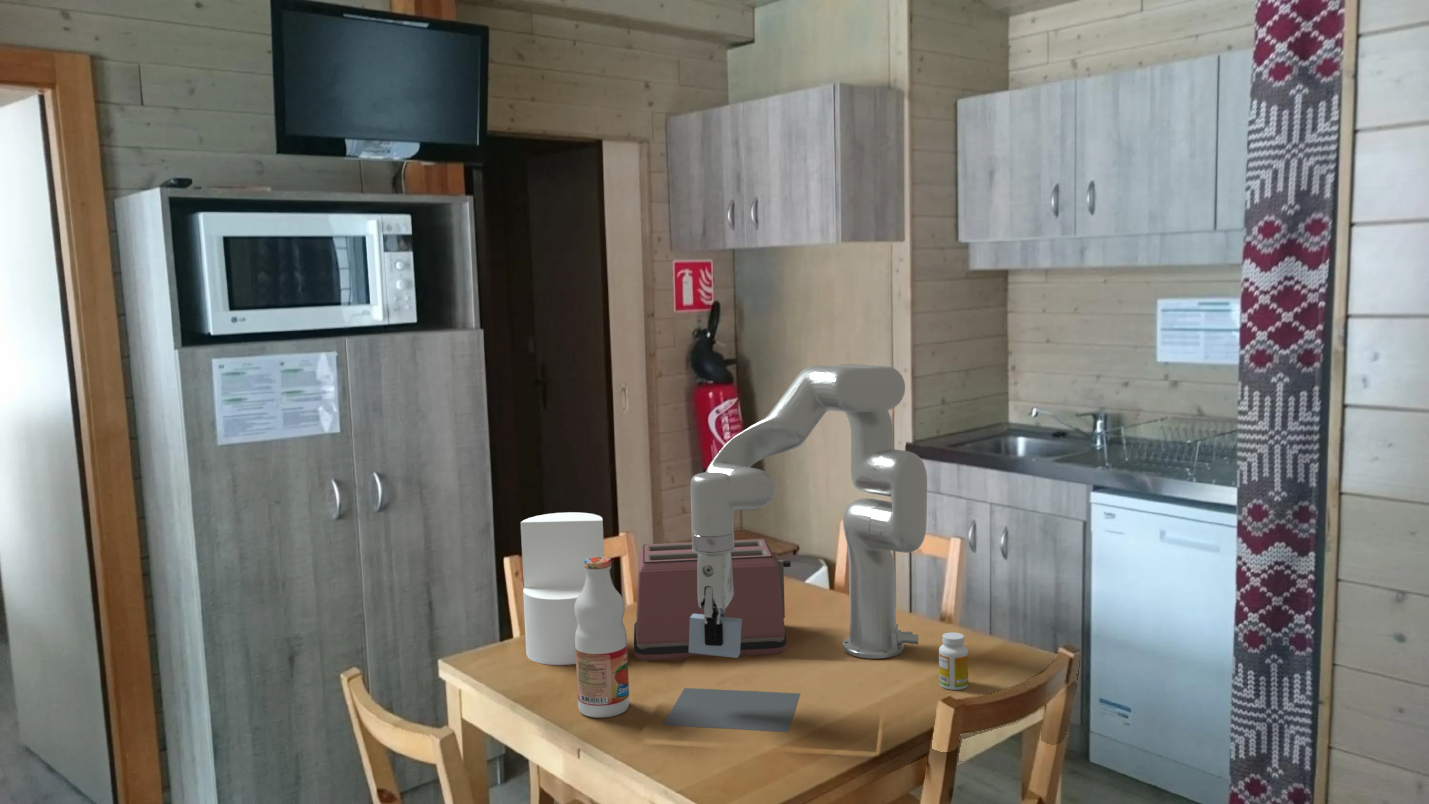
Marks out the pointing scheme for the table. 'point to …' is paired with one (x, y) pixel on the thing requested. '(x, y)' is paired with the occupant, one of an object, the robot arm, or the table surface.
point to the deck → (729, 637)
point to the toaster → (675, 599)
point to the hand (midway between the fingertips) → (715, 641)
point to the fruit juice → (601, 644)
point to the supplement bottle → (953, 662)
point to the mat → (733, 709)
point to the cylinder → (556, 580)
